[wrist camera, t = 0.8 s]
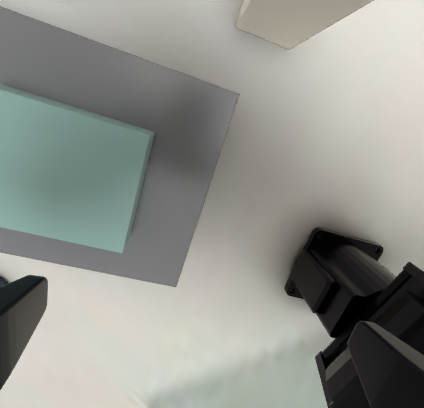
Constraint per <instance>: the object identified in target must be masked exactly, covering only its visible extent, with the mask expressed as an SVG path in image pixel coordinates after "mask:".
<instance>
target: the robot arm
mask: <svg viewBox="0 0 424 408" xmlns="http://www.w3.org/2000/svg"><path fill="white" fill-rule="evenodd" d="M319 233H321V234H320V236H317V235H318V234H319ZM376 249H377V250H376ZM375 250H376V251H375ZM382 253H383V247H382V246H380V245H379V244H376V243H373V242H369V241H366V240H362V239H358V238H355V237H351V236H347V235H344V234H340V233H337V232H333V231H329V230H326V229H322V228H316V229H315V230H314V231H313V232H312V234H311V236H310V238H309V240H308V242H307V244H306V246H305V248H304V250H303V251H302V253H301V255H300V257H299V259H298V261H297V263H296V265H295V267H294V269H293V271H292V273H291V276H290V278H289V280H288V282H287V284H286V287H285V291H286V293H287V295H289V296H293V297H297V298H302V299H305V301H306V303H307V304H308V306H309V307H310V309H311V311H312V312H313V313H316V314H317V316H318V318H319V319H320V321H321V322H322V324H323V325H324V327H325V329H326V330H327V332H328V333H329V335H330V337H332V338H336V339H335V340H334V341H333V342H332V343H331V344H330V345H329V346H328V347H327V348H326V349H325V350H324V351H323V352H322V351H320V352H319V353H318V354H317V355H316V356H315V359H316V363H317V367H318V371H319V374H320V378H321V382H322V386H323V390H324V394H325V398H326V401H327V405H328V408H424V271H422V270H421V269H419V268H418V267H416V266H415V265H413V264H412V263H410V262H408V263H407V264H406V265H405V266H404V267H403V269H404V270H403V271H402V272H401V273H400V274H399V275H398V276H397V277H396V276H395V275H393V274H392V273H391V272H390V271H388V270H387V269H386V268H385V267H383V266H382V265H381V264H380V263H378V262H377V261H378V259H379V258H380V256H381V254H382ZM291 289H292V290H291ZM290 290H291V291H290ZM47 291H48V281H47V279H46V278H45V277H41V276H34V275H28V276H25V277H23V278H21V279H18V280H16V281H14V282H11V283H9V284H7V285H5V286H2V287H0V390H1V388H2V387H3V385H4V384H5V382H6V381H7V379H8V377H9V376H10V374H11V372H12V371H13V369H14V367H15V365H16V364H17V362H18V360H19V358H20V356H21V354H22V353H23V351H24V349H25V347H26V345H27V343H28V342H29V340H30V338H31V336H32V334H33V332H34V331H35V329H36V327H37V325H38V323H39V321H40V319H41V318H42V316H43V314H44V312H45V310H46V306H47Z"/></svg>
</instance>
